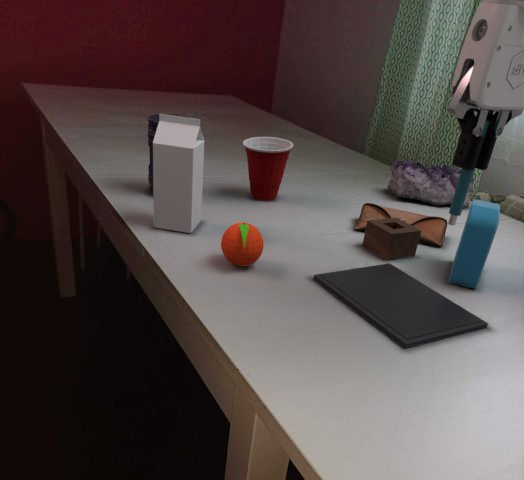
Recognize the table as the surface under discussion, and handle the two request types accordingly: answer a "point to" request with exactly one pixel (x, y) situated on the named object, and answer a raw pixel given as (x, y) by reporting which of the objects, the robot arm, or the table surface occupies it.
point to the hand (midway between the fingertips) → (469, 166)
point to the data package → (475, 243)
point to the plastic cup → (266, 165)
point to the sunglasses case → (428, 225)
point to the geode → (426, 183)
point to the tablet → (400, 304)
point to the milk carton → (178, 173)
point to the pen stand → (391, 238)
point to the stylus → (462, 188)
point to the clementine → (242, 244)
